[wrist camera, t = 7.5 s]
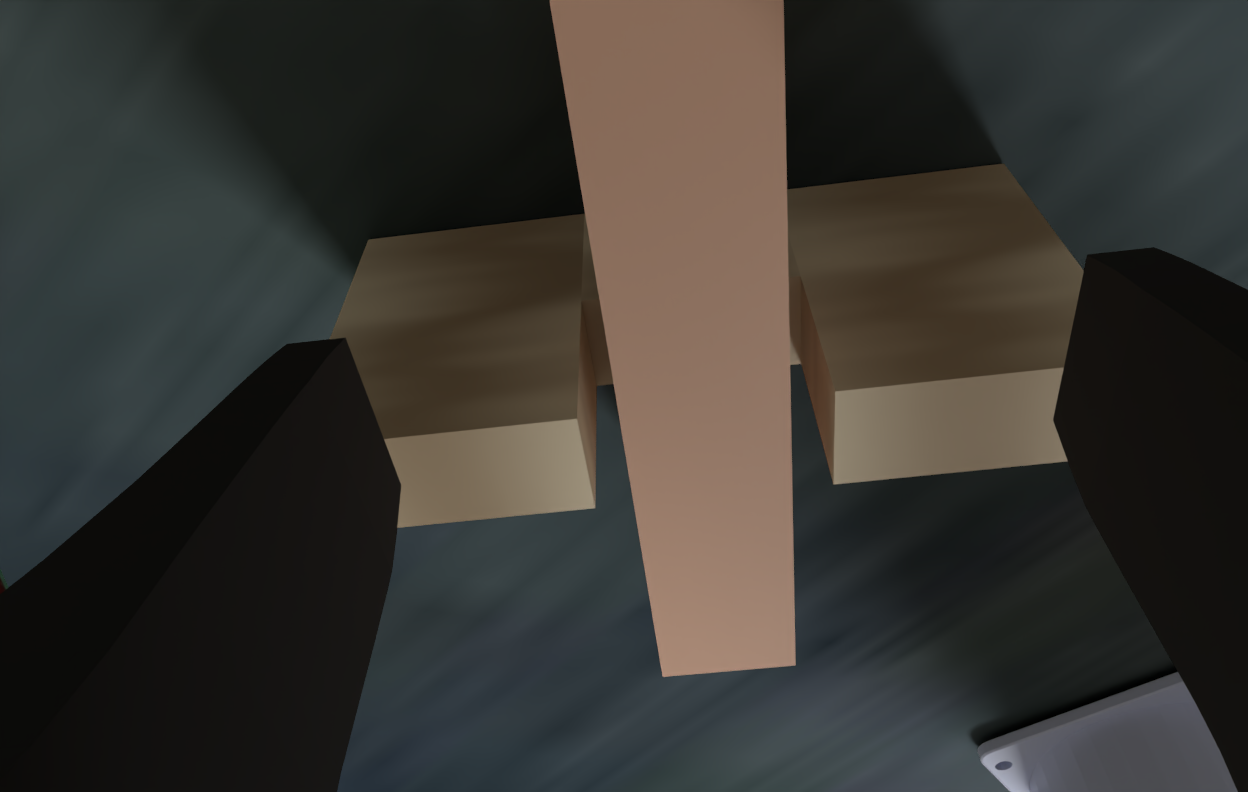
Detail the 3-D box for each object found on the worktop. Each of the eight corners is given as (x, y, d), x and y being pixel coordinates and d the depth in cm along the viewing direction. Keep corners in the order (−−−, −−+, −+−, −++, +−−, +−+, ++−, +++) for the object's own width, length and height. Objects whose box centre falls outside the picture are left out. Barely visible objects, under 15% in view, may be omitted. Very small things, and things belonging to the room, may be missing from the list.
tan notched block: (1004, 163, 17) (1148, 358, 13) (992, 248, 19) (1121, 455, 14) (368, 239, 18) (286, 449, 14) (394, 316, 19) (327, 534, 15)
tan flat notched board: (566, -127, 14) (547, -10, 10) (724, -150, 14) (782, -41, 10) (650, 453, 22) (662, 676, 17) (754, 443, 22) (795, 665, 17)
